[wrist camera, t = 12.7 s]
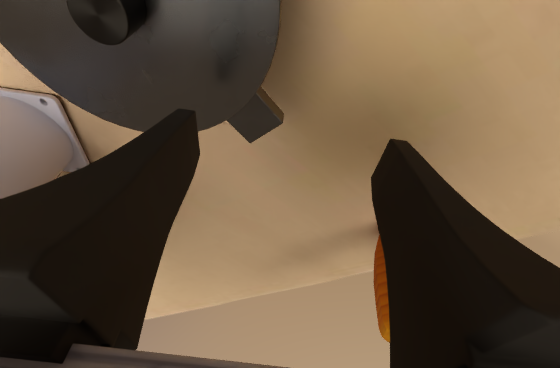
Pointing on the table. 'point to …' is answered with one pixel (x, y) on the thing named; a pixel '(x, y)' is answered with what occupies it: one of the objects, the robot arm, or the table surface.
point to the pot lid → (146, 54)
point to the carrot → (381, 292)
